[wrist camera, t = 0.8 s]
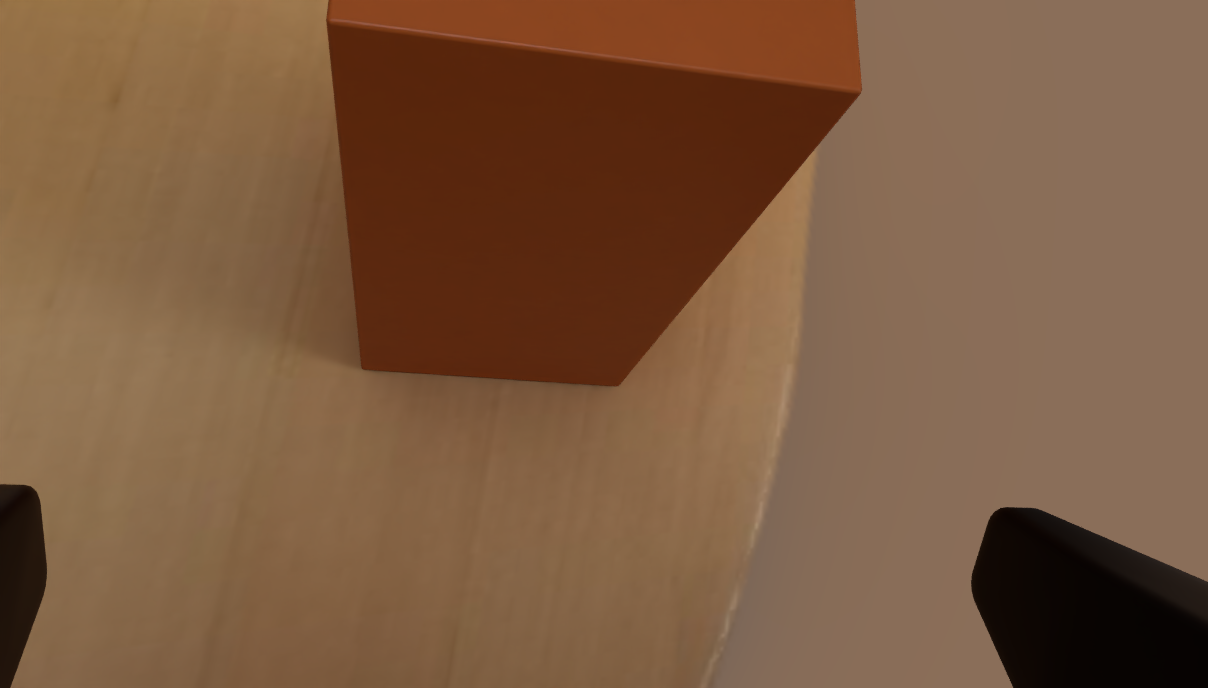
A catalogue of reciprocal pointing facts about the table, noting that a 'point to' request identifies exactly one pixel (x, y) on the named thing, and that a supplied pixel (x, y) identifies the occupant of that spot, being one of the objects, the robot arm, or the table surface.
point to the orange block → (564, 166)
